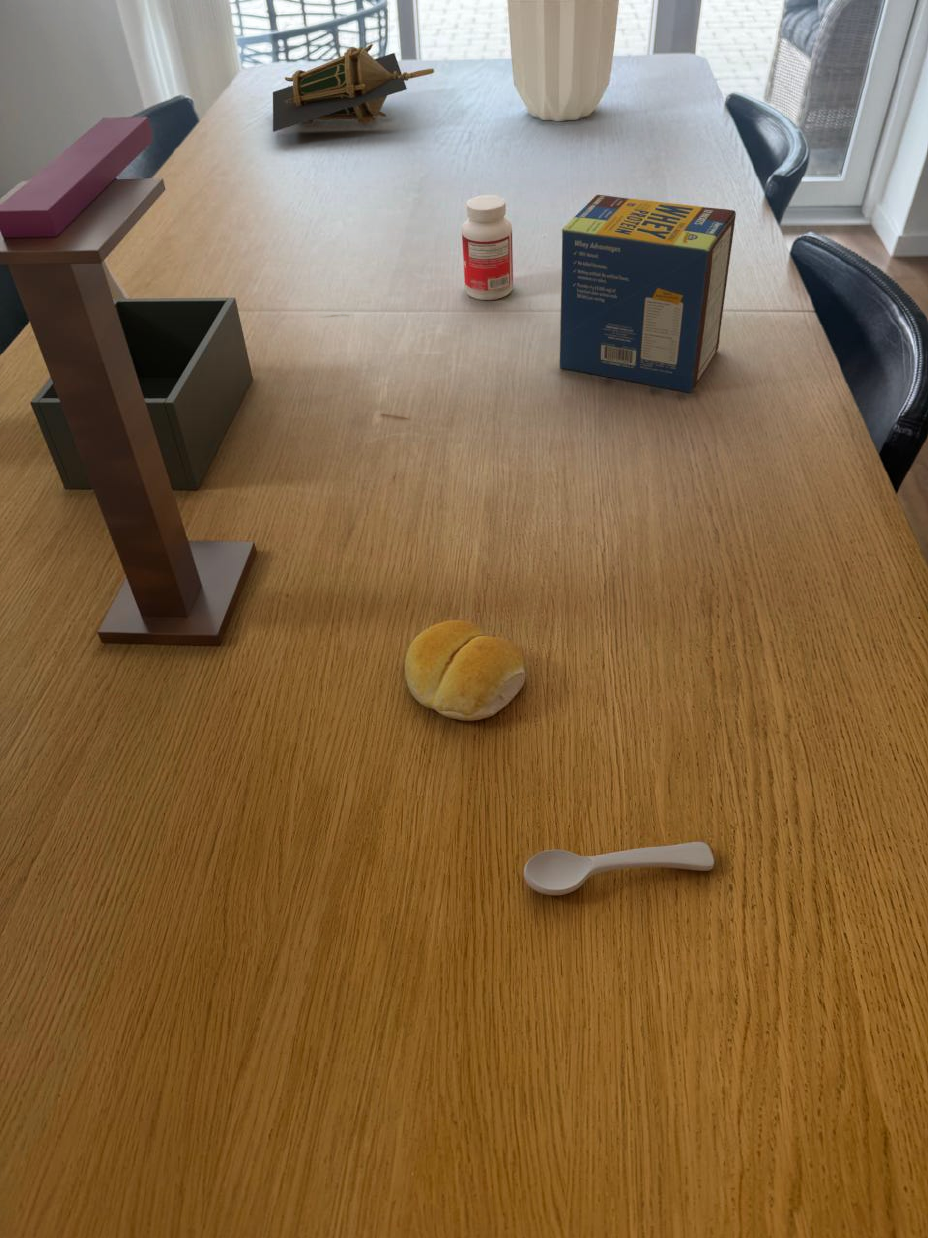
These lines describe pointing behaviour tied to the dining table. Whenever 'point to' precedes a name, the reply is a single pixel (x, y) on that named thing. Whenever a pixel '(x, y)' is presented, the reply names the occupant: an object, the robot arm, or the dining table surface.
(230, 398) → the trash bin
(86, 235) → the shelf stand
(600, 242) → the protein box
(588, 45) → the vase
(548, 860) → the spoon
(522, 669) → the bread roll
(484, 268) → the pill bottle
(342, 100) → the lantern
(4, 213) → the pink rectangular block
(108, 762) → the dining table surface
